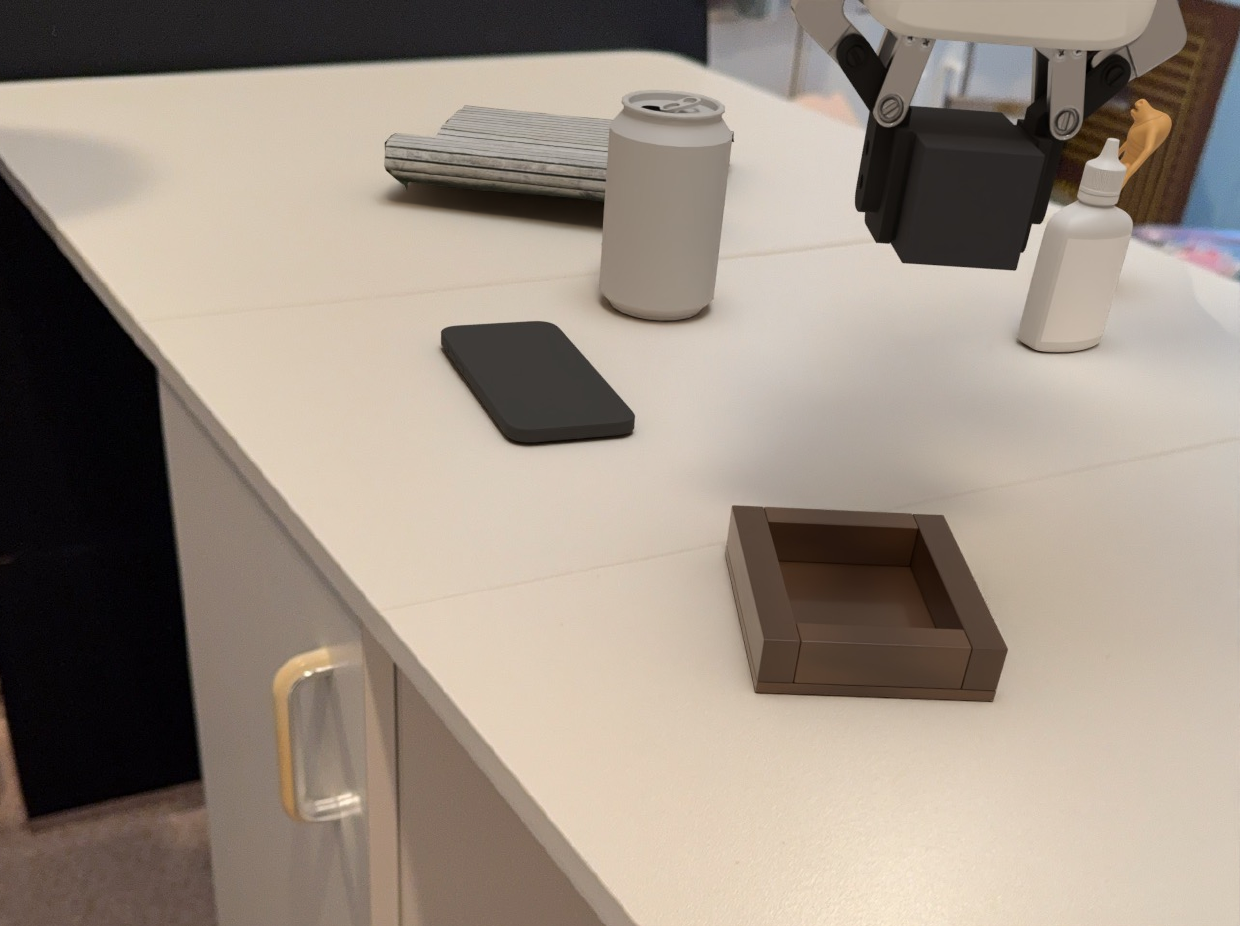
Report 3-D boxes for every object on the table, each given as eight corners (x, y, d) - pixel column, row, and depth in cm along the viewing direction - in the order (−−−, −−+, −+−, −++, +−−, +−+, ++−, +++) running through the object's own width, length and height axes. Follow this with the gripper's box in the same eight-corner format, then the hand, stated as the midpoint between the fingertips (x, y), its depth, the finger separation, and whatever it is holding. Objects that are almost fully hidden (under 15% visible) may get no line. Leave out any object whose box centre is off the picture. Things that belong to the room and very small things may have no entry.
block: (872, 213, 59) (891, 104, 56) (977, 220, 59) (1002, 112, 56) (901, 263, 54) (925, 146, 51) (1016, 271, 54) (1045, 155, 52)
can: (580, 289, 95) (591, 85, 87) (682, 281, 98) (702, 82, 90) (626, 329, 90) (643, 116, 82) (732, 320, 92) (758, 112, 85)
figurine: (1036, 262, 106) (1083, 79, 98) (1119, 274, 105) (1173, 90, 98) (1036, 297, 100) (1086, 105, 92) (1124, 310, 99) (1183, 117, 91)
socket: (932, 563, 69) (944, 514, 67) (993, 701, 60) (1009, 649, 58) (724, 554, 68) (731, 504, 67) (755, 692, 59) (764, 639, 57)
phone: (510, 432, 75) (434, 326, 85) (510, 447, 75) (434, 340, 86) (643, 421, 77) (553, 319, 88) (641, 436, 78) (552, 333, 88)
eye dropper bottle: (1107, 359, 92) (1169, 153, 84) (1019, 351, 92) (1072, 144, 84) (1095, 335, 95) (1153, 135, 87) (1009, 327, 95) (1060, 126, 87)
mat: (732, 164, 121) (740, 102, 118) (692, 247, 104) (699, 177, 101) (465, 131, 124) (466, 69, 121) (381, 206, 106) (379, 136, 103)
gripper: (825, -418, 41) (738, 254, 53) (1393, -361, 42) (1183, 283, 54) (790, -409, 47) (719, 196, 59) (1292, -360, 48) (1122, 223, 60)
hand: (943, 232), depth 56 cm, fingers closed on block, 4 cm apart
